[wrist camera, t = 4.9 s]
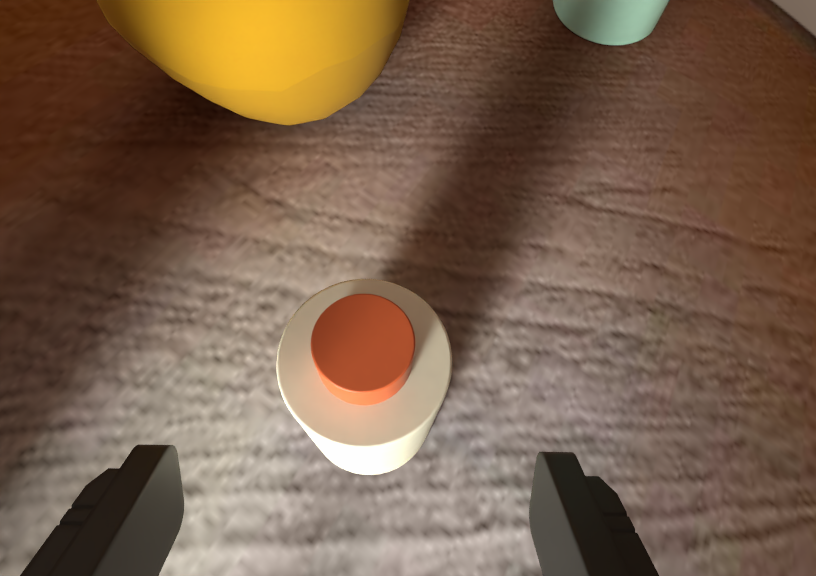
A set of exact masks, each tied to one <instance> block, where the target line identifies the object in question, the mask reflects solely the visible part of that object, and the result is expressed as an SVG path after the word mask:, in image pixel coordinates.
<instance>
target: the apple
mask: <svg viewBox="0 0 816 576" xmlns="http://www.w3.org/2000/svg"><path fill="white" fill-rule="evenodd" d="M96 1H97V3H98V5H99V6H100V8H101V10H102V12H103V14H104V16H105V18H106V20H107V21H108V23H109V24H110V25H111V26H112V27H113V28H114V29H115V30H116V31H117V32H118V33H119V34H120V35H121V36H122V37H123V38H124V39H125V40H126V41H127V42H128V43H129V44H130V45H131V46H132V47H133V48H134V49H135V50H137V51H138V52H139V53H141V54H142V55H143V56H144V57H146V58H147V59H148V60H150V61H151V62H152V63H153V64H155V65H156V66H157V67H159V68H160V69H161V70H162V71H164V72H165V73H166V74H168V75H169V76H170V77H171V78H173V79H174V80H176V81H178V82H179V83H181V84H183V85H184V86H186V87H188V88H189V89H191V90H193V91H194V92H196V93H198V94H199V95H201V96H203V97H204V98H206V99H208V100H209V101H211V102H213V103H216V104H218V105H220V106H222V107H224V108H226V109H229V110H231V111H233V112H235V113H237V114H239V115H242V116H244V117H246V118H250V119H255V120H260V121H265V122H269V123H274V124H282V125H294V124H300V123H305V122H310V121H315V120H320V119H325V118H326V117H328V116H330V115H331V114H333V113H335V112H336V111H338V110H339V109H341V108H343V107H344V106H346V105H348V104H349V103H351V102H353V101H354V100H356V99H357V98H359V97H360V96H361V95H362V94H363V93H364V92H365V91H366V90H367V89H368V88H369V86H370V85H371V84H372V83H373V82H374V81H375V80H376V79H377V77H378V76H379V75H380V74H381V72H382V70H383V68H384V66H385V65H386V63H387V61H388V59H389V57H390V55H391V53H392V51H393V49H394V47H395V45H396V43H397V41H398V40H399V38H400V35H401V31H402V28H403V24H404V20H405V16H406V12H407V9H408V5H409V1H410V0H96Z"/></svg>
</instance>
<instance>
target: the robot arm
mask: <svg viewBox="0 0 816 576" xmlns="http://www.w3.org/2000/svg"><path fill="white" fill-rule="evenodd" d="M183 513H184V497H183V490H182V483H181V476H180V469H179V462H178V455H177V450H176V448H175V446H173V445H137V446H135V447H134V448H133V450H132V451H131V453H130V454H129V455H128V457H127V458H126V460H125V461H124V463H123V464H122V466H121V467H120V469H112V468H108V469H107V470H106V471H104V472H103V473H102V474H100V475H99V476H98V477H96V478H95V479H94V480H92V481H91V482H90V483H89V484H87V485H86V486H85V488H84V489H83V490H82V492H81V493H80V494H79V496H78V497H77V498H76V500H75V501H74V503H73V504H72V508H71V509H68V511H67V512H66V514H65V515H64V516H63V518H62V519H61V520H60V524H59V525H57V526H56V527H55V529H54V530H53V531H52V533H51V534H50V535H49V537H48V538H47V540H46V541H45V542H44V544H43V545H42V546H41V548H40V549H39V550H38V552H37V553H36V555H35V556H34V557H33V559H32V560H31V561H30V563H29V564H28V565H27V567H26V568H25V570H24V571H23V572H22V574H21V575H20V576H158V575H159V573H160V571H161V569H162V567H163V564H164V562H165V560H166V558H167V556H168V554H169V551H170V549H171V547H172V545H173V543H174V541H175V538H176V536H177V534H178V532H179V530H180V527H181V523H182V519H183ZM529 519H530V529H531V534H532V538H533V541H534V545H535V548H536V552H537V555H538V559H539V562H540V566H541V569H542V573H543V576H659V575H658V573H657V571H656V569H655V567H654V565H653V563H652V561H651V559H650V557H649V555H648V553H647V551H646V549H645V547H644V545H643V544H642V542H641V540H640V538H639V536H638V534H637V533H635V528H634V526H633V524H632V522H631V520H630V518H629V517H627V512H626V511H625V509H624V507H623V505H622V503H621V501H620V499H619V497H618V495H617V493H616V492H615V491H614V490H613V489H611V488H610V487H609V486H608V485H607V484H606V483H605V482H604V481H603V480H602V479H601V478H600V477H598V476H585V475H584V472H583V470H582V468H581V466H580V464H579V462H578V459H577V457H576V455H575V454H574V453H572V452H539V453H538V455H537V459H536V466H535V472H534V479H533V486H532V493H531V500H530V508H529Z"/></svg>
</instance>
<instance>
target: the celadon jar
mask: <svg viewBox="0 0 816 576" xmlns="http://www.w3.org/2000/svg"><path fill="white" fill-rule="evenodd" d="M669 1H670V0H553V5H554V9H555V12H556V14H557V16H558V17H559V19H560V20H561V22H562V23H563V24H564V25H565V26H566V27H567V28H568V29H570V30H571V31H572V32H574V33H575V34H577V35H578V36H580V37H582V38H584V39H587V40H589V41H592V42H595V43H599V44H605V45H626V44H631V43H634V42H637V41H640V40H642V39H643V38H645V37H647V36H648V35H649V34H650V33H651V32H652V31H653V30H654V29H655V27H656V25H657V24H658V22H659V20H660V18H661V16H662V14H663V12H664V11H665V9H666V7H667V5H668V3H669Z"/></svg>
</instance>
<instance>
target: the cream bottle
mask: <svg viewBox="0 0 816 576" xmlns="http://www.w3.org/2000/svg"><path fill="white" fill-rule="evenodd" d="M276 368H277V379H278V385H279V388H280V391H281V394H282V397H283V399H284V401H285V403H286V405H287V407H288V409H289V410H290V412H291V413H292V415H293V416H294V417H295V419H296V420H297V421H298V422H299V424H300V425H301V426H302V427H303V429H304V430H305V431H306V432H307V434H308V435H309V436H310V438H311V439H312V440H313V441H314V443H315V444H316V445H317V446H318V448H319V449H320V450H321V451H322V453H323V454H324V455H325V456H326V457H327V458H328V459H329V460H330V461H332V462H333V463H334V464H336V465H337V466H339V467H340V468H342V469H345V470H347V471H350V472H353V473H357V474H363V475H375V474H382V473H386V472H389V471H392V470H394V469H396V468H398V467H400V466H402V465H403V464H405V463H406V462H407V461H409V460H410V459H411V458H412V457H413V456H414V455H415V454H416V453H417V452H418V450H419V449H420V448H421V446H422V444H423V443H424V441H425V439H426V437H427V435H428V433H429V430H430V428H431V426H432V424H433V422H434V420H435V418H436V415H437V413H438V411H439V409H440V407H441V405H442V403H443V400H444V398H445V396H446V393H447V391H448V388H449V384H450V380H451V374H452V351H451V345H450V341H449V338H448V334H447V332H446V330H445V328H444V325H443V323H442V322H441V320H440V319H439V317H438V315H437V314H436V313H435V312H434V310H433V309H432V308H431V307H430V306H429V305H428V304H427V303H426V302H425V301H424V300H423V299H422V298H420V297H419V296H418V295H416V294H415V293H413V292H412V291H410V290H408V289H406V288H404V287H402V286H400V285H397V284H395V283H391V282H387V281H383V280H376V279H356V280H349V281H345V282H341V283H338V284H335V285H332V286H330V287H328V288H326V289H324V290H321V291H320V292H318V293H317V294H315V295H314V296H312V297H311V298H310V299H309V300H307V301H306V302H305V303H304V304H303V305H302V306H301V307H300V308H299V309H298V310H297V311H296V312H295V314H294V315H293V317H292V318H291V319H290V321H289V322H288V324H287V326H286V328H285V330H284V332H283V335H282V337H281V340H280V343H279V348H278V352H277V361H276Z"/></svg>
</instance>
